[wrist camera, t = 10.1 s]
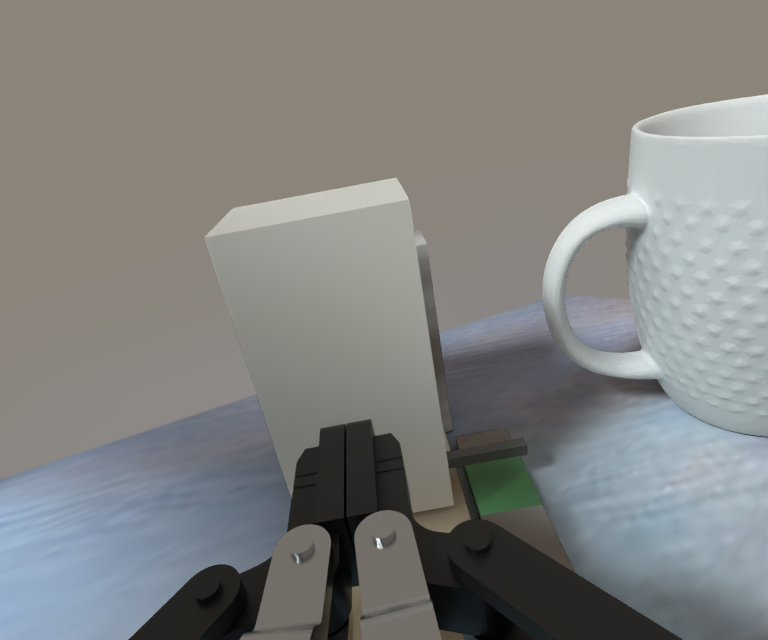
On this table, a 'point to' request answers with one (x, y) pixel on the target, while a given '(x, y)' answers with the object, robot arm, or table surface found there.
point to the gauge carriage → (340, 327)
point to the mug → (688, 262)
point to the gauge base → (478, 472)
